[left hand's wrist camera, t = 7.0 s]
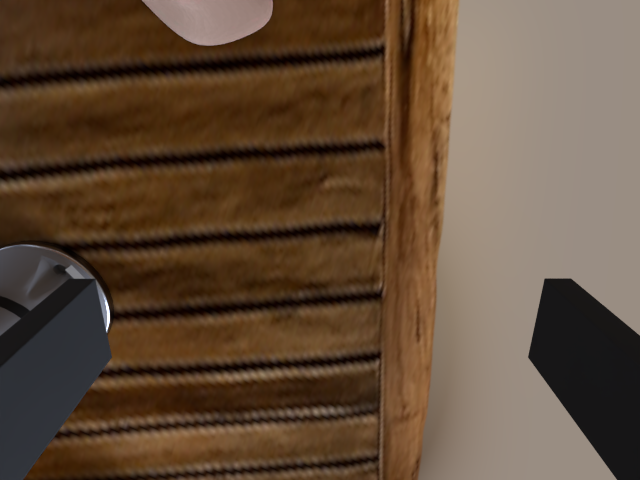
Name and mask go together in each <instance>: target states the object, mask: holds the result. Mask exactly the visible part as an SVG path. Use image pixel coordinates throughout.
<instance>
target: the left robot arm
mask: <svg viewBox="0 0 640 480" xmlns="http://www.w3.org/2000/svg"><path fill="white" fill-rule="evenodd" d="M113 317H114V307H113V301H112V297H111V294H110V292H109V289H108V287H107V285H106V283H105V282H104V280H103V279H102V277H101V276H100V275H99V273H98V272H97V271H96V270H95V269H94V268H93V267H92V266H91V265H90V264H89V263H88V262H87V261H85V260H84V259H83V258H81V257H80V256H78V255H77V254H75V253H73V252H72V251H70V250H68V249H65V248H63V247H61V246H58V245H55V244H51V243H47V242H41V241H21V242H15V243H12V244H9V245H6V246H4V247H2V248H0V480H23V479H24V477H25V476H26V475H27V473H28V472H29V471H30V469H31V468H32V466H33V465H34V464H35V462H36V461H37V460H38V458H39V457H40V455H41V454H42V453H43V451H44V450H45V449H46V447H47V446H48V444H49V443H50V442H51V440H52V439H53V438H54V436H55V435H56V433H57V432H58V431H59V429H60V428H61V427H62V425H63V424H64V422H65V421H66V420H67V418H68V417H69V415H70V414H71V413H72V411H73V410H74V409H75V407H76V406H77V404H78V403H79V402H80V400H81V399H82V398H83V396H84V395H85V393H86V392H87V391H88V389H89V388H90V387H91V385H92V384H93V382H94V381H95V380H96V378H97V377H98V376H99V374H100V373H101V371H102V370H103V369H104V367H105V366H106V365H107V363H108V362H109V360H110V359H111V358H112V356H111V351H110V346H109V342H108V337H107V335H108V333H109V331H110V329H111V326H112V323H113ZM528 358H529V359H530V360H531V362H532V363H533V364H534V366H535V367H536V369H537V370H538V371H539V373H540V374H541V376H542V377H543V378H544V380H545V381H546V382H547V384H548V385H549V387H550V388H551V389H552V391H553V392H554V393H555V395H556V396H557V398H558V399H559V400H560V402H561V403H562V404H563V406H564V407H565V409H566V410H567V411H568V413H569V414H570V415H571V417H572V418H573V420H574V421H575V422H576V424H577V425H578V427H579V428H580V429H581V431H582V432H583V433H584V435H585V436H586V437H587V439H588V440H589V442H590V443H591V444H592V446H593V447H594V448H595V450H596V451H597V453H598V454H599V455H600V457H601V458H602V460H603V461H604V462H605V464H606V465H607V466H608V468H609V469H610V471H611V472H612V473H613V475H614V476H615V477H616V479H617V480H640V335H638V334H637V333H636V332H635V331H633V330H632V329H631V328H630V327H629V326H627V325H626V324H625V323H624V322H623V321H621V320H620V319H619V318H618V317H617V316H615V315H614V314H613V313H612V312H611V311H609V310H608V309H607V308H606V307H605V306H603V305H602V304H601V303H600V302H599V301H597V300H596V299H595V298H594V297H592V296H591V295H590V294H589V293H588V292H586V291H585V290H584V289H583V288H582V287H580V286H579V285H578V284H577V283H576V282H574V281H573V280H572V279H545V280H544V285H543V289H542V294H541V299H540V304H539V308H538V313H537V318H536V323H535V327H534V332H533V337H532V342H531V346H530V351H529V356H528Z"/></svg>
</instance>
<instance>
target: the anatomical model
mask: <svg viewBox="0 0 640 480" xmlns="http://www.w3.org/2000/svg"><path fill="white" fill-rule="evenodd" d="M142 1H143V2H144V3H145V4H146V5H147V6H148V7H149V8H150V9H151V10H152V11H153V12H154V13H155V14H156V15H157V16H158V17H159V18H160V19H161V20H162V21H163V22H164V23H165V24H166V25H167V26H168V27H170V28H171V29H172V30H173V31H175V32H176V33H177V34H178V35H180V36H181V37H183V38H184V39H186V40H188V41H190V42H192V43H195V44H198V45H210V46H211V45H220V44H224V43H228V42H232V41H235V40H238V39H240V38H243V37H245V36H247V35H250V34H252V33H253V32H255V31H257V30H259V29H260V28H262V27H263V26H264V25H265V24H266V23H267V22H268V21H269V19H270V17H271V15H272V9H273V0H142Z"/></svg>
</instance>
